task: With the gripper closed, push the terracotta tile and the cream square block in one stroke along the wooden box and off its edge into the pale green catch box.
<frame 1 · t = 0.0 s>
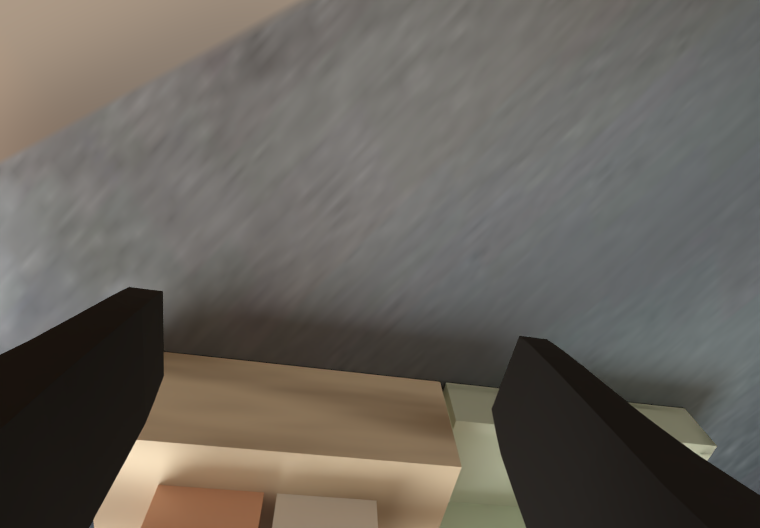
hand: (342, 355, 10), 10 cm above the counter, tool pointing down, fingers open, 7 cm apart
terracotta tile: (210, 521, 20), point 5 cm above the counter, touching wooden box
catch box: (541, 455, 26), on the counter
wooden box: (286, 433, 24), on the counter
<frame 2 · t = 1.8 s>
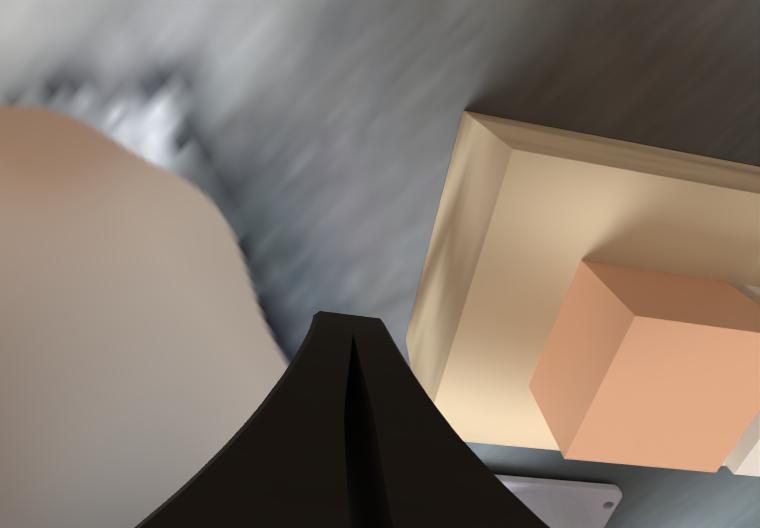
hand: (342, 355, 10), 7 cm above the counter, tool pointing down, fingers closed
terracotta tile: (622, 336, 13), point 5 cm above the counter, touching wooden box
wooden box: (615, 264, 18), on the counter
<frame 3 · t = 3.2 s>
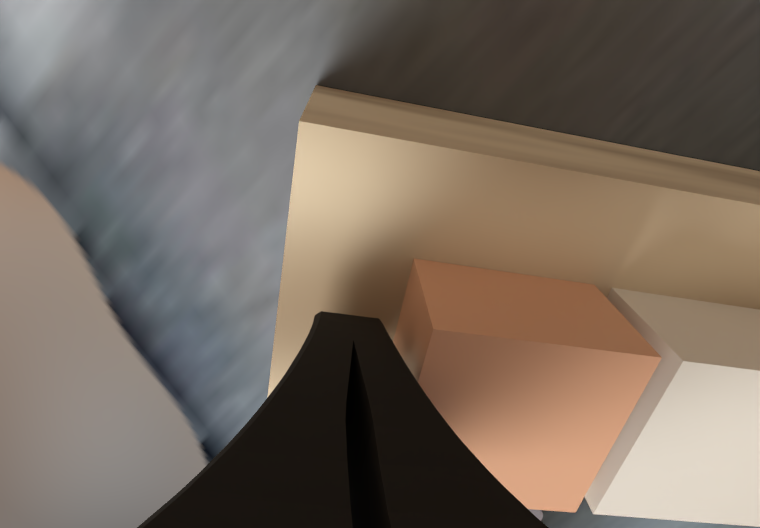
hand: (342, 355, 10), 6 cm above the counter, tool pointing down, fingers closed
terracotta tile: (479, 348, 11), point 5 cm above the counter, touching gripper
cream square block: (654, 370, 12), point 5 cm above the counter, touching wooden box
wooden box: (512, 263, 16), on the counter
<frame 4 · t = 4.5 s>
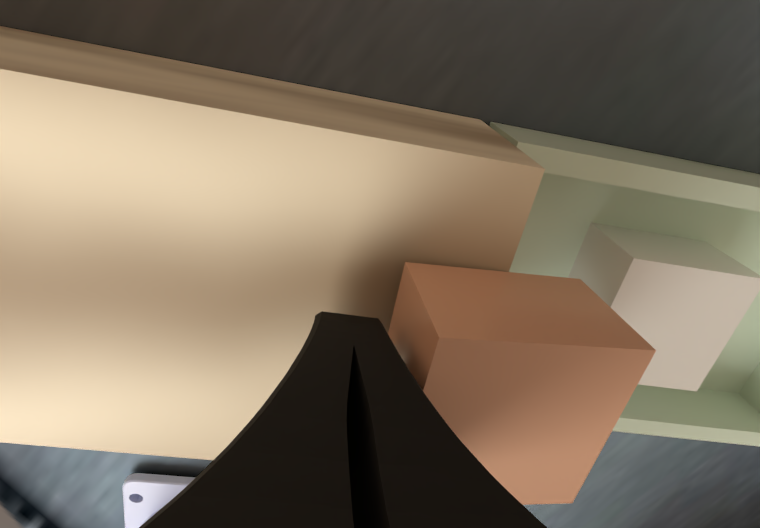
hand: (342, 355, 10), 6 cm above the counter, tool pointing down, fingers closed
terracotta tile: (470, 347, 11), point 5 cm above the counter, tilted 6°
cream square block: (667, 330, 14), point 3 cm above the counter, tilted 180°, touching catch box
catch box: (634, 284, 16), on the counter
wooden box: (219, 220, 14), on the counter
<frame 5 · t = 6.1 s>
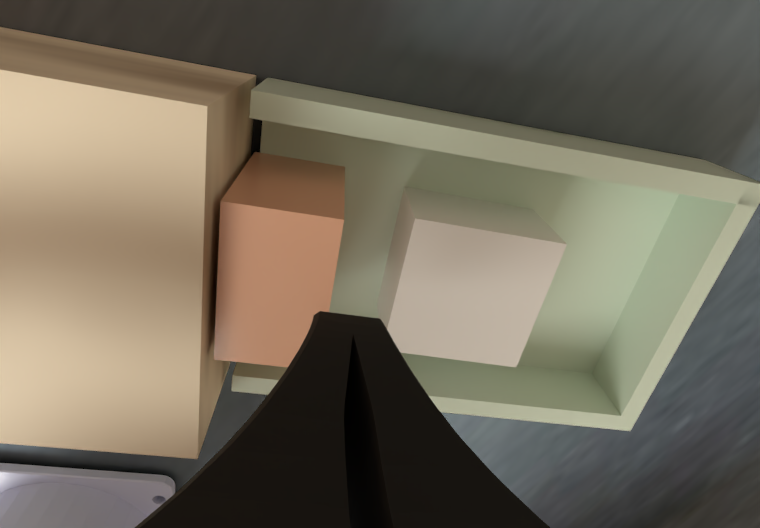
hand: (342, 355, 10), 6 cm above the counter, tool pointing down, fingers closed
terracotta tile: (235, 247, 12), point 2 cm above the counter, tilted 90°, touching catch box
cream square block: (470, 299, 13), point 3 cm above the counter, tilted 180°, touching catch box
catch box: (461, 256, 15), on the counter
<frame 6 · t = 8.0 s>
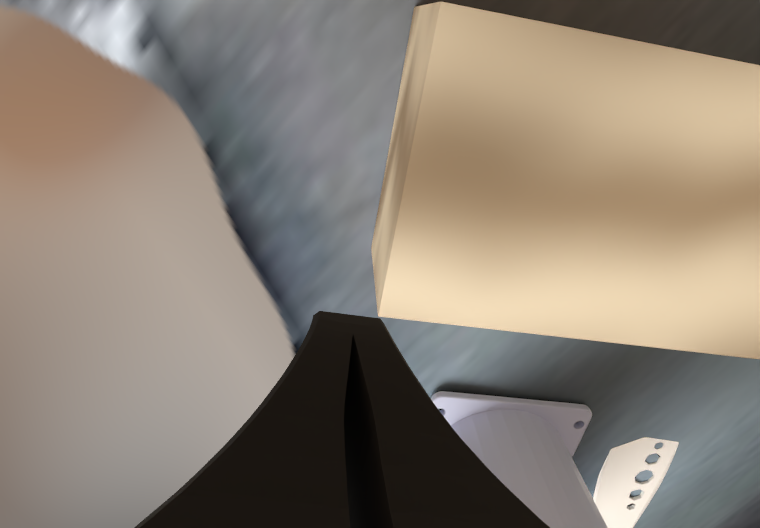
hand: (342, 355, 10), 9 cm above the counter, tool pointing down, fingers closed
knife: (554, 526, 29), on the counter
wooden box: (572, 169, 18), on the counter
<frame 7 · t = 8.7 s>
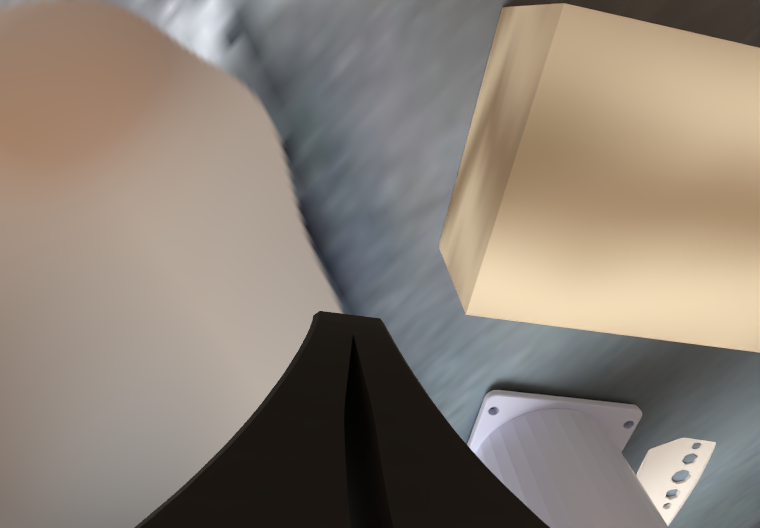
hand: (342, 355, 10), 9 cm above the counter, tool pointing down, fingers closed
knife: (589, 525, 29), on the counter
wooden box: (642, 171, 18), on the counter
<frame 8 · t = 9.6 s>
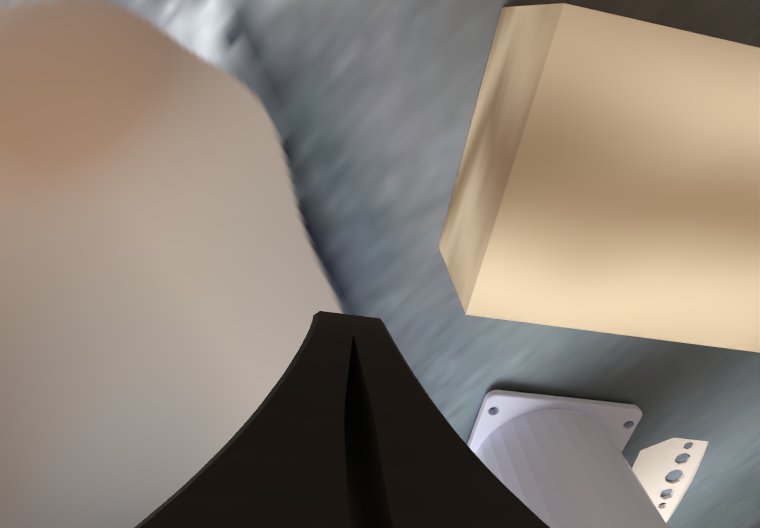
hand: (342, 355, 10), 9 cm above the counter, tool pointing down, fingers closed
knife: (586, 527, 29), on the counter
wooden box: (642, 171, 18), on the counter
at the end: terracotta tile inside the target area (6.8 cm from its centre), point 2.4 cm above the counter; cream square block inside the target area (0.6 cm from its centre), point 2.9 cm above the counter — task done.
